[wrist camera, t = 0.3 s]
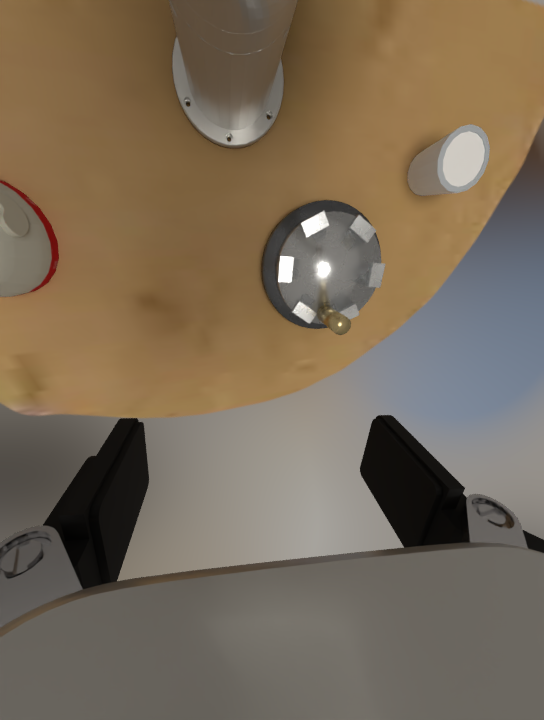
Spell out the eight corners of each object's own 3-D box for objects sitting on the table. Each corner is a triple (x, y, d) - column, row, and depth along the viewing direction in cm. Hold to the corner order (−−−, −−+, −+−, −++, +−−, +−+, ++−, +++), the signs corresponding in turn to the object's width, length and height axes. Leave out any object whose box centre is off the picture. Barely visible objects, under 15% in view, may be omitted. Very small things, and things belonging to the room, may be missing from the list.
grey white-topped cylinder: (394, 188, 39) (427, 178, 33) (419, 134, 37) (459, 111, 31) (431, 208, 41) (468, 202, 35) (456, 157, 39) (501, 141, 33)
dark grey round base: (265, 195, 37) (267, 192, 35) (386, 209, 40) (394, 207, 38) (258, 323, 44) (260, 327, 42) (361, 326, 47) (367, 330, 45)
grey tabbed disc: (279, 208, 36) (295, 197, 28) (381, 218, 38) (424, 212, 30) (271, 317, 42) (282, 336, 33) (360, 320, 44) (392, 339, 36)
